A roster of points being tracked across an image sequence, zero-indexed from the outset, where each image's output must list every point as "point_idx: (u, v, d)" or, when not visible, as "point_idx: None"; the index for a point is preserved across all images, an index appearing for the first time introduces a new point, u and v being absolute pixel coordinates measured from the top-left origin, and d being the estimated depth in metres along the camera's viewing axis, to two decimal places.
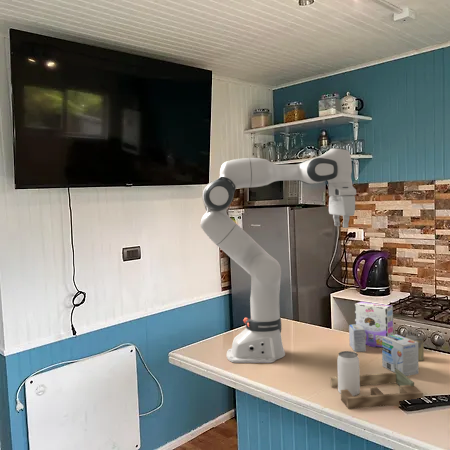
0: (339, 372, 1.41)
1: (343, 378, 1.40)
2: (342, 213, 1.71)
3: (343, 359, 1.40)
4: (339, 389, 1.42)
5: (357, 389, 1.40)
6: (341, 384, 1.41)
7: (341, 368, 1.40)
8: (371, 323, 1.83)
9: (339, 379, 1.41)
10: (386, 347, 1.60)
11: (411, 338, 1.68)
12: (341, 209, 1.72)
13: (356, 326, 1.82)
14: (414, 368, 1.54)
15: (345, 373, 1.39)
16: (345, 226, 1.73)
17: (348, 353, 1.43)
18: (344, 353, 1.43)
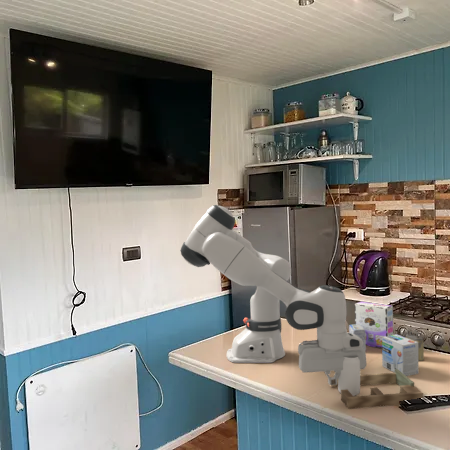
0: None
1: (344, 377, 1.40)
2: None
3: (345, 359, 1.40)
4: (339, 389, 1.42)
5: (357, 389, 1.40)
6: (341, 383, 1.40)
7: None
8: (371, 323, 1.83)
9: (340, 379, 1.41)
10: (386, 347, 1.60)
11: (411, 338, 1.68)
12: None
13: (356, 326, 1.82)
14: (414, 368, 1.54)
15: (346, 372, 1.39)
16: None
17: None
18: None
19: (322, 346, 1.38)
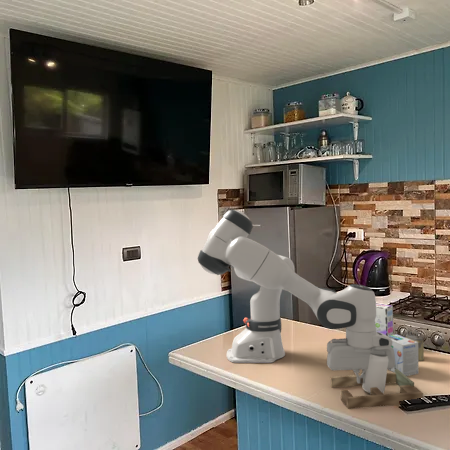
0: None
1: (369, 375, 1.39)
2: None
3: (372, 356, 1.39)
4: (363, 385, 1.42)
5: (381, 388, 1.39)
6: (366, 380, 1.41)
7: (369, 365, 1.40)
8: None
9: None
10: None
11: (411, 338, 1.68)
12: None
13: None
14: (414, 368, 1.54)
15: (372, 370, 1.39)
16: None
17: None
18: None
19: (351, 344, 1.39)
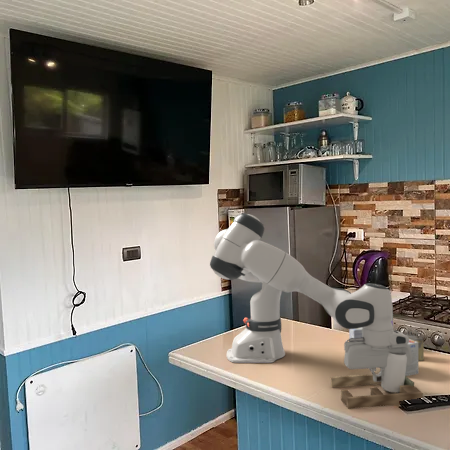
0: None
1: (388, 373, 1.40)
2: None
3: (390, 355, 1.40)
4: (382, 384, 1.43)
5: None
6: (385, 379, 1.41)
7: (387, 363, 1.41)
8: None
9: None
10: None
11: (411, 338, 1.68)
12: None
13: None
14: (414, 368, 1.54)
15: (390, 368, 1.40)
16: None
17: None
18: None
19: (369, 343, 1.39)
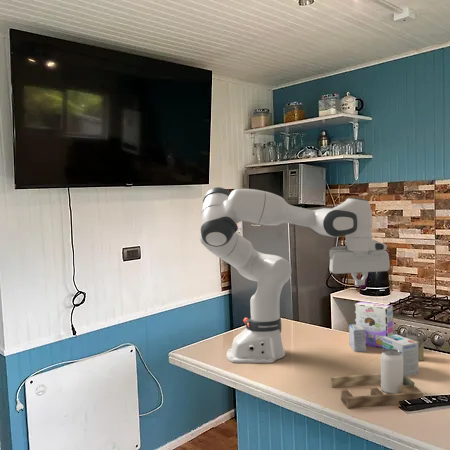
0: (381, 369, 1.42)
1: (385, 374, 1.41)
2: (381, 269, 1.58)
3: (386, 356, 1.41)
4: (381, 386, 1.43)
5: (399, 387, 1.40)
6: (383, 380, 1.42)
7: (383, 365, 1.41)
8: (371, 323, 1.83)
9: (381, 375, 1.43)
10: (386, 347, 1.60)
11: (411, 338, 1.68)
12: (378, 265, 1.58)
13: (356, 326, 1.82)
14: (414, 368, 1.54)
15: (387, 370, 1.40)
16: None
17: (393, 351, 1.44)
18: (388, 350, 1.44)
19: (351, 250, 1.57)
